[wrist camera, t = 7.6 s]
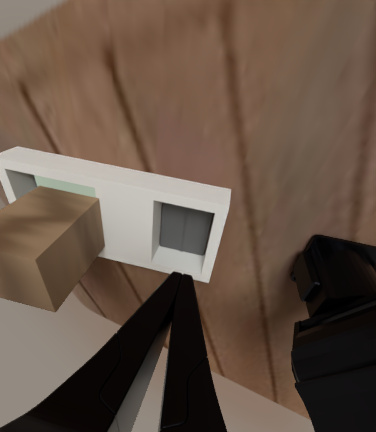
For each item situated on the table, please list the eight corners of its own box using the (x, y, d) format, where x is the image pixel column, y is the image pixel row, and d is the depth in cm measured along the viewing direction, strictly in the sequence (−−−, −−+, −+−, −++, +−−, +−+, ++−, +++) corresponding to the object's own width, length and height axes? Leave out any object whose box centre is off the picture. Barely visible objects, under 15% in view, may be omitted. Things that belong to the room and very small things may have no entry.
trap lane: (231, 189, 21) (229, 206, 19) (211, 262, 27) (208, 283, 25) (17, 146, 23) (-10, 156, 21) (41, 223, 29) (23, 238, 27)
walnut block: (99, 198, 21) (35, 259, 15) (105, 245, 24) (55, 312, 18) (39, 185, 22) (-48, 239, 15) (53, 233, 25) (-13, 294, 19)
